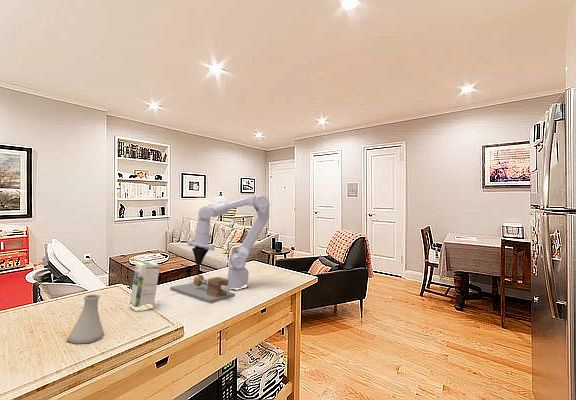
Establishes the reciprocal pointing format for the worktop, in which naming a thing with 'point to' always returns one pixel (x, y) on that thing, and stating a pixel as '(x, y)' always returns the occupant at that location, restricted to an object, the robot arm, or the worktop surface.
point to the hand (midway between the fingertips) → (198, 264)
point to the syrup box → (144, 283)
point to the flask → (87, 322)
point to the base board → (199, 292)
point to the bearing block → (216, 286)
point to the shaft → (200, 280)
